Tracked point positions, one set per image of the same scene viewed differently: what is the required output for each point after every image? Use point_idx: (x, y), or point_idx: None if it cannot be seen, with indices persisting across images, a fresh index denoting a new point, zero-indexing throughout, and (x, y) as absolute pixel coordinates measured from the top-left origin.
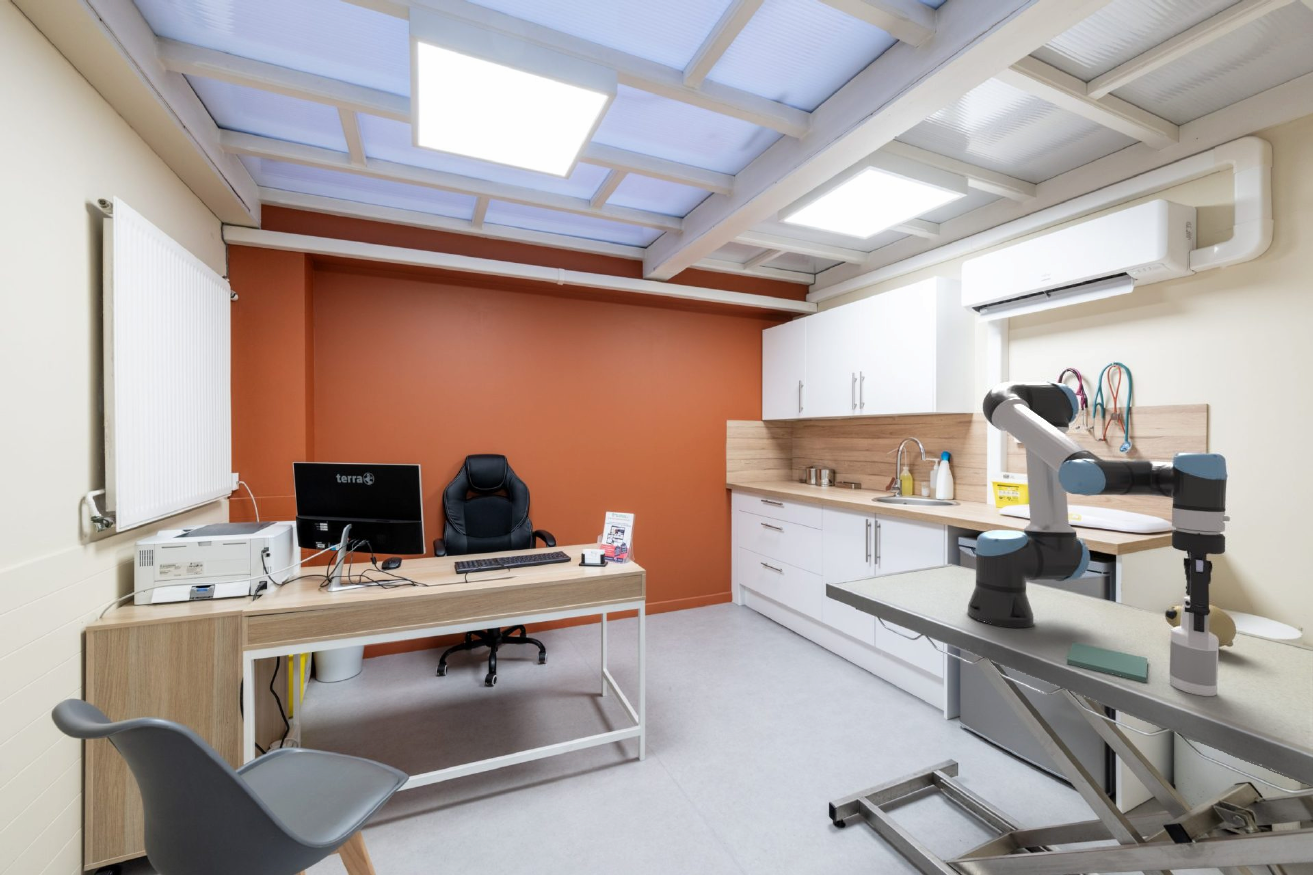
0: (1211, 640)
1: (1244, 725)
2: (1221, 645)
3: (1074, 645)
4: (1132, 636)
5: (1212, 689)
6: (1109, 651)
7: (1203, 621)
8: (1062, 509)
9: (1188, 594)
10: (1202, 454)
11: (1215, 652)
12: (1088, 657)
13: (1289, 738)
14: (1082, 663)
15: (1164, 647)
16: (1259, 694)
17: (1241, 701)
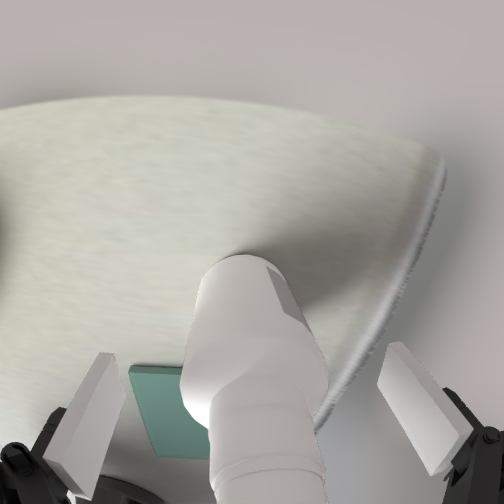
0: (313, 349)
1: (399, 217)
2: None
3: (176, 455)
4: (4, 366)
5: (273, 268)
6: (154, 421)
7: (471, 416)
8: None
9: (68, 498)
10: None
11: (288, 311)
12: None
13: (408, 156)
14: None
15: (8, 326)
16: (159, 170)
17: (251, 208)
